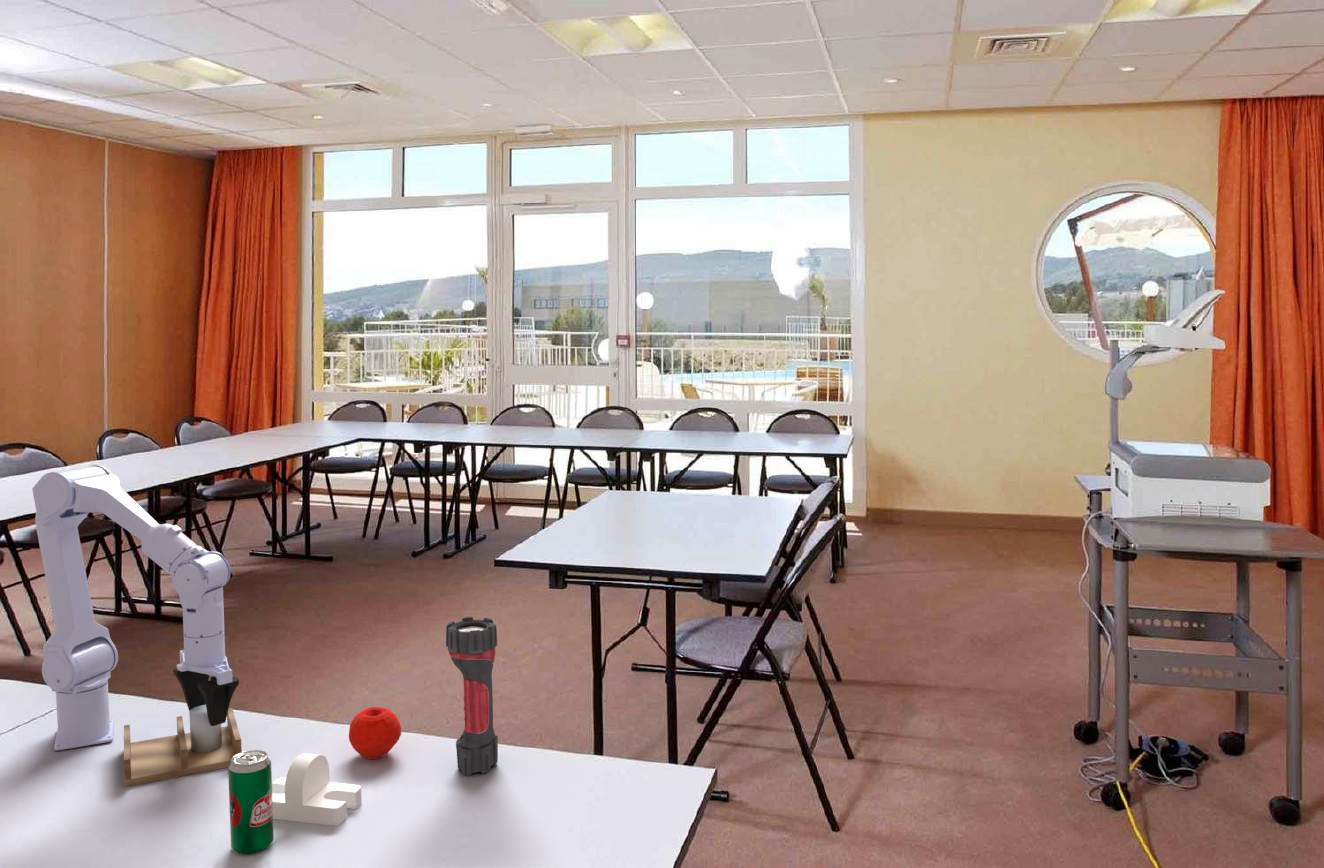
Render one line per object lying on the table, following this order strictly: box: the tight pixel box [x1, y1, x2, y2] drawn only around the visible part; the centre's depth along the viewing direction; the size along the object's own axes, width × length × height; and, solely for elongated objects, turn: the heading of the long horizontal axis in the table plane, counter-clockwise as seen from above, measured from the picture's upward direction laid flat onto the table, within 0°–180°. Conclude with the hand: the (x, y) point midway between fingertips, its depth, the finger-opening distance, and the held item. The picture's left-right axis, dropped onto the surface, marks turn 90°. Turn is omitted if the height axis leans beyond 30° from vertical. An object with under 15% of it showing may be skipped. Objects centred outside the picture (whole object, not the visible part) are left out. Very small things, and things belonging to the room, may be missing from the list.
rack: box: [123, 707, 243, 787], centre depth 150 cm, size 14×16×4 cm
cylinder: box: [188, 704, 222, 753], centre depth 151 cm, size 4×4×6 cm
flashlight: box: [445, 616, 499, 777], centre depth 145 cm, size 8×8×23 cm
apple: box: [348, 706, 402, 760], centre depth 151 cm, size 8×8×7 cm
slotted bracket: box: [272, 752, 363, 826], centre depth 134 cm, size 13×7×8 cm, turn 79°
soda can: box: [227, 749, 275, 856], centre depth 124 cm, size 5×5×12 cm
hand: (207, 716), depth 151 cm, fingers open, 7 cm apart
